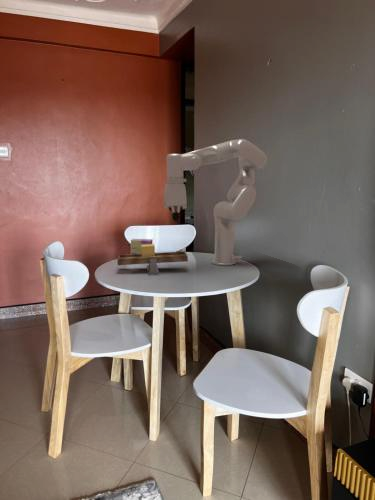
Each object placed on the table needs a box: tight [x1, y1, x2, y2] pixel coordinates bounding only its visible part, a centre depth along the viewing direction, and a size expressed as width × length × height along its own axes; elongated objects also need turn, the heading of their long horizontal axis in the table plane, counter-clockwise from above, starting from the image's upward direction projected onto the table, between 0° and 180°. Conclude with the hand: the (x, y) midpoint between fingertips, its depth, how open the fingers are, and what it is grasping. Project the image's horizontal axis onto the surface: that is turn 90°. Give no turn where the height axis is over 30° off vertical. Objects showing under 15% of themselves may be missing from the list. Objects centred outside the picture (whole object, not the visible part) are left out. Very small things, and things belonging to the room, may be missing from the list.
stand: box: [146, 258, 160, 276], centre depth 178 cm, size 5×17×7 cm, turn 7°
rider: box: [141, 243, 156, 258], centre depth 177 cm, size 6×5×6 cm
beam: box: [117, 251, 189, 266], centre depth 178 cm, size 32×10×3 cm, turn 97°
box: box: [130, 238, 153, 254], centre depth 196 cm, size 10×6×12 cm, turn 84°
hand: (175, 221), depth 178 cm, fingers closed
